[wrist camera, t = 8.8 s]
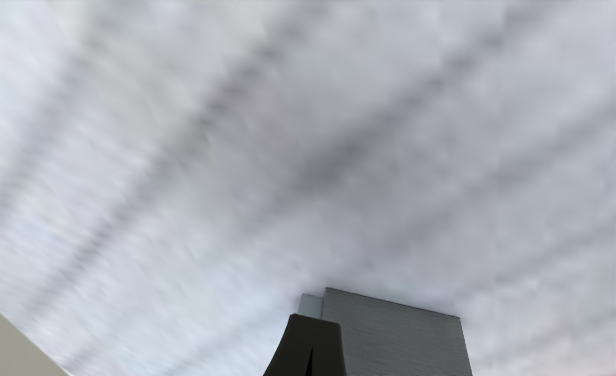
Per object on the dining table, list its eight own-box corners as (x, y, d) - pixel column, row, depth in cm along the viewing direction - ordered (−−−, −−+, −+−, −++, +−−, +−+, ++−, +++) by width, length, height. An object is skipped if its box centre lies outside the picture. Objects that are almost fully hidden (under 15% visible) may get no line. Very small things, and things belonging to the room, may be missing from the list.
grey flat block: (459, 318, 23) (488, 448, 17) (453, 328, 23) (479, 458, 17) (326, 287, 23) (309, 405, 17) (323, 298, 24) (305, 416, 18)
